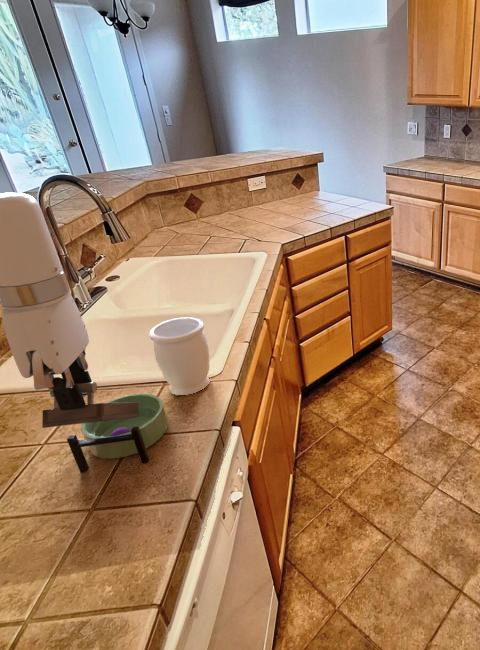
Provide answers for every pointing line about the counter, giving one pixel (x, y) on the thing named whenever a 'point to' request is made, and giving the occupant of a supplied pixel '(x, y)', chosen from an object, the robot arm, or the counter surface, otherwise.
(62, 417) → the scoop
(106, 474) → the counter surface
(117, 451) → the bowl
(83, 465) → the bracket
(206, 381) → the jar
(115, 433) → the ball
